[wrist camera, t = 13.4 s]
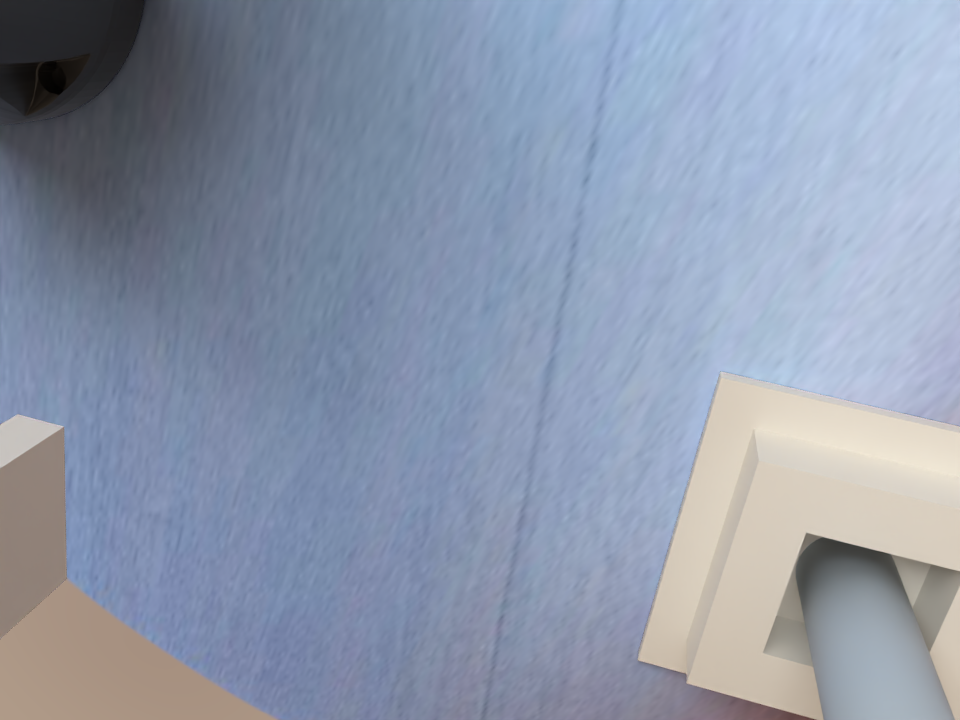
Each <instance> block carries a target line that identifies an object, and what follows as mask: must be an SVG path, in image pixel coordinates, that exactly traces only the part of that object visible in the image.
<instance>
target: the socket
mask: <svg viewBox="0 0 960 720" xmlns="http://www.w3.org/2000/svg"><path fill="white" fill-rule="evenodd" d="M822 537H825V538H829V539H833V540H837V541H841V542H845V543H849V544H853V545H857V546H861V547H865V548H869V549H873V550H877V551H881V552H885V553H889V554H891V556H892V558H893V560H894V562H895V565H896V567H897V570H898V572H899V575H900V578H901V580H902V583H903V585H904V588H905V591H906V593H907V596H908V598H909V601H910V604H911V606H912V609H913V611H914V614H915V617H916V619H917V622H918V625H919V627H920V630H921V632H922V635H923V638H924V640H925V643H926V645H927V648H928V651H929V653H930V656H931V658H932V661H933V664H934V666H935V669H936V671H937V674H938V677H939V679H940V682H941V684H942V687H943V690H944V692H945V695H946V697H947V700H948V703H949V705H950V708H951V710H952V713H953V716H954V718H955V720H960V426H956V425H951V424H947V423H942V422H938V421H934V420H929V419H925V418H921V417H916V416H912V415H908V414H903V413H899V412H895V411H890V410H886V409H882V408H877V407H873V406H869V405H864V404H860V403H856V402H851V401H847V400H843V399H838V398H834V397H830V396H825V395H821V394H817V393H812V392H808V391H804V390H799V389H795V388H791V387H786V386H782V385H778V384H773V383H769V382H765V381H760V380H756V379H752V378H747V377H743V376H739V375H734V374H730V373H725V372H721V371H720V374H719V377H718V381H717V384H716V388H715V391H714V395H713V398H712V401H711V405H710V408H709V412H708V415H707V418H706V422H705V425H704V429H703V432H702V436H701V439H700V442H699V446H698V449H697V453H696V456H695V459H694V463H693V466H692V470H691V473H690V477H689V480H688V483H687V487H686V490H685V494H684V497H683V500H682V504H681V507H680V511H679V514H678V517H677V521H676V524H675V528H674V531H673V535H672V538H671V541H670V545H669V548H668V552H667V555H666V558H665V562H664V565H663V569H662V572H661V576H660V579H659V582H658V586H657V589H656V593H655V596H654V599H653V603H652V606H651V610H650V613H649V617H648V620H647V623H646V627H645V630H644V634H643V637H642V640H641V644H640V647H639V652H638V661H642V662H646V663H649V664H653V665H656V666H660V667H664V668H667V669H671V670H675V671H678V672H682V673H685V674H687V684H691V685H694V686H698V687H701V688H705V689H708V690H712V691H716V692H719V693H723V694H726V695H730V696H734V697H737V698H741V699H744V700H748V701H752V702H755V703H759V704H762V705H766V706H769V707H773V708H777V709H780V710H784V711H787V712H791V713H795V714H798V715H802V716H805V717H809V718H812V719H816V720H824V719H823V714H822V709H821V703H820V698H819V693H818V688H817V683H816V678H815V673H814V668H813V663H812V658H811V652H810V647H809V642H808V637H807V632H806V627H805V622H804V617H803V612H802V606H801V601H800V596H799V591H798V586H797V581H796V565H797V562H798V559H799V557H800V555H801V554H802V552H803V551H804V550H805V549H806V548H807V547H808V546H809V545H810V544H811V543H813V542H814V541H816V540H818V539H820V538H822Z"/></svg>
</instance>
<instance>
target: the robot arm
mask: <svg viewBox="0 0 960 720" xmlns="http://www.w3.org/2000/svg"><path fill="white" fill-rule="evenodd" d="M143 6H144V0H0V125H8V124H18V123H24V122H31V121H38V120H44V119H49V118H54V117H57V116H61V115H63V114H66V113H69V112H71V111H73V110H75V109H77V108H79V107H81V106H82V105H84V104H86V103H87V102H89V101H90V100H91V99H93V98H94V97H95V96H97V95H98V94H99V93H100V92H101V91H102V90H103V89H104V88H105V87H106V86H107V85H108V84H109V83H110V82H111V80H112V79H113V78H114V76H115V75H116V74H117V72H118V71H119V70H120V68H121V66H122V65H123V63H124V62H125V60H126V58H127V56H128V54H129V52H130V50H131V47H132V45H133V43H134V40H135V37H136V34H137V31H138V28H139V24H140V20H141V17H142V11H143ZM66 579H67V567H66V510H65V454H64V427H63V426H60V425H56V424H52V423H48V422H44V421H41V420H37V419H33V418H29V417H26V416H22V415H18V414H17V415H16V416H14V417H12V418H11V419H9V420H7V421H6V422H4V423H2V424H0V639H1V638H2V637H3V636H4V635H5V634H6V633H8V632H9V631H10V630H11V629H12V628H13V627H14V626H15V625H16V624H17V623H19V622H20V621H21V620H22V619H23V618H24V617H25V616H26V615H27V614H29V613H30V612H31V611H32V610H33V609H34V608H35V607H36V606H37V605H38V604H40V603H41V602H42V601H43V600H44V599H45V598H46V597H47V596H49V595H50V594H51V593H52V592H53V591H54V590H55V589H56V588H57V587H58V586H60V585H61V584H62V583H63V582H64V581H65V580H66Z"/></svg>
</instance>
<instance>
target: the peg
mask: <svg viewBox="0 0 960 720" xmlns="http://www.w3.org/2000/svg"><path fill="white" fill-rule="evenodd" d="M796 581H797V586H798V591H799V596H800V601H801V606H802V612H803V617H804V622H805V627H806V632H807V637H808V642H809V647H810V652H811V658H812V663H813V668H814V673H815V678H816V683H817V688H818V693H819V698H820V703H821V709H822V714H823V719H824V720H955V718H954V716H953V713H952V710H951V708H950V705H949V703H948V700H947V697H946V695H945V692H944V690H943V687H942V684H941V682H940V679H939V677H938V674H937V671H936V669H935V666H934V664H933V661H932V658H931V656H930V653H929V651H928V648H927V645H926V643H925V640H924V638H923V635H922V632H921V630H920V627H919V625H918V622H917V619H916V617H915V614H914V611H913V609H912V606H911V604H910V601H909V598H908V596H907V593H906V591H905V588H904V585H903V583H902V580H901V578H900V575H899V572H898V570H897V567H896V565H895V562H894V560H893V558H892V556H891V554H889V553H885V552H881V551H877V550H873V549H869V548H865V547H861V546H857V545H853V544H849V543H845V542H841V541H837V540H833V539H829V538H825V537H822V538H820V539H818V540H816V541H814V542H813V543H811V544H810V545H809V546H808V547H807V548H806V549H805V550H804V551H803V552H802V554H801V555H800V557H799V559H798V562H797V565H796Z"/></svg>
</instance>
